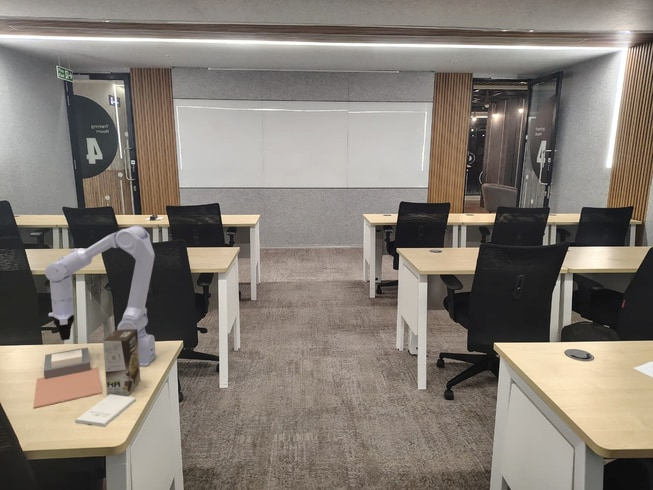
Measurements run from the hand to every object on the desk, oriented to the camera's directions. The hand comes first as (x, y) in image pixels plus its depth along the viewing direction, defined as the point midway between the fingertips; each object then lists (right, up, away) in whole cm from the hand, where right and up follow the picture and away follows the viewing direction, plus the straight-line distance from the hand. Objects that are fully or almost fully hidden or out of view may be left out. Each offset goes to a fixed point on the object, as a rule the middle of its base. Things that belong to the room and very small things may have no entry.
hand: (65, 339), depth 140 cm
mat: (+10, -10, -15) cm, 20 cm away
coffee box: (+26, -11, -15) cm, 32 cm away
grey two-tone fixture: (+3, -8, -3) cm, 9 cm away
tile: (+4, -6, -6) cm, 9 cm away
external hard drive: (+27, -14, -27) cm, 40 cm away
